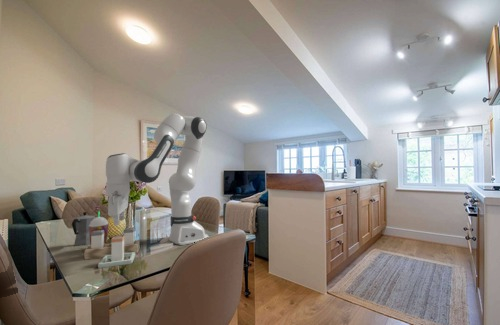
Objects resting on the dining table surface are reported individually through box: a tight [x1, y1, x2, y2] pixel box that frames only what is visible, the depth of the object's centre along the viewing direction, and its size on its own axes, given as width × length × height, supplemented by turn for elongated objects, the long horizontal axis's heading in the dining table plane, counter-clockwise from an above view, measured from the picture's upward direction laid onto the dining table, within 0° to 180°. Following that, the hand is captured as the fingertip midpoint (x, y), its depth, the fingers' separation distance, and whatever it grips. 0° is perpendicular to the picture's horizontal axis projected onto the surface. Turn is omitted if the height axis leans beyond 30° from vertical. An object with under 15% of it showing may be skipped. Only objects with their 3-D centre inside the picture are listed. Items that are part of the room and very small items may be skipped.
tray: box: [97, 252, 136, 269], centre depth 97 cm, size 12×10×3 cm
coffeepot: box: [71, 211, 96, 247], centre depth 124 cm, size 15×9×18 cm, turn 1°
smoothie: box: [89, 210, 109, 246], centre depth 114 cm, size 8×8×20 cm
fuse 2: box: [123, 226, 136, 245], centre depth 109 cm, size 4×4×11 cm
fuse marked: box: [110, 235, 125, 262], centre depth 98 cm, size 4×4×11 cm
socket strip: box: [84, 240, 140, 261], centre depth 107 cm, size 21×7×6 cm, turn 109°
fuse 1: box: [91, 230, 104, 249], centre depth 105 cm, size 4×4×11 cm
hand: (119, 222), depth 98 cm, fingers open, 8 cm apart
